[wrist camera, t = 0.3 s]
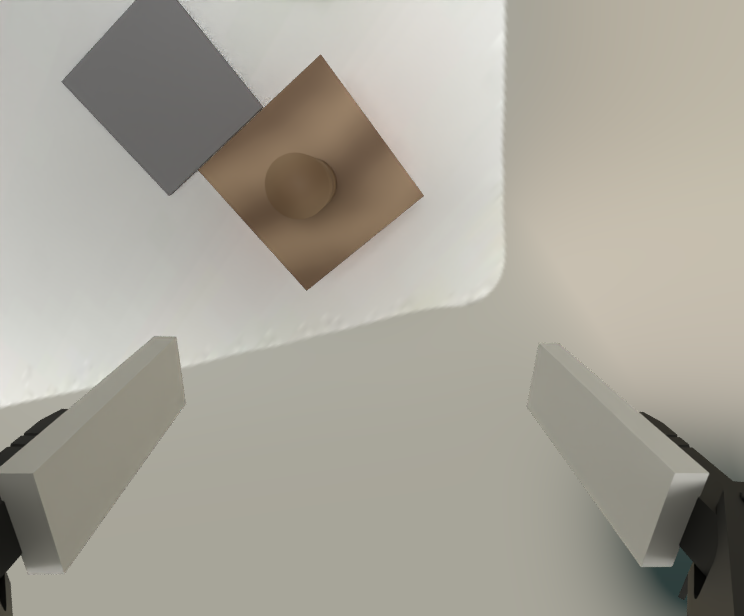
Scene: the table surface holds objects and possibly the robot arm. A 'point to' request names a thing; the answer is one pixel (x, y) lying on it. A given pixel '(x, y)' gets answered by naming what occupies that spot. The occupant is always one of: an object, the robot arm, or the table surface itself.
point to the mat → (162, 91)
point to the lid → (312, 175)
